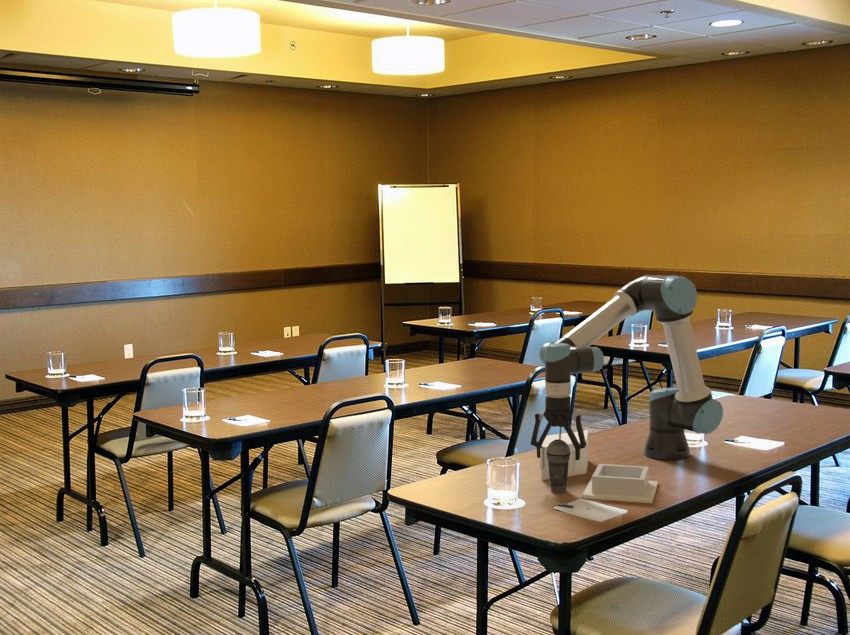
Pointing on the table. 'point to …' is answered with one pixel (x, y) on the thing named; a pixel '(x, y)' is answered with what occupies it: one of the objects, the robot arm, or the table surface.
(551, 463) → the beverage cup
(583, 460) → the block
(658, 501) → the table surface
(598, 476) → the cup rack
